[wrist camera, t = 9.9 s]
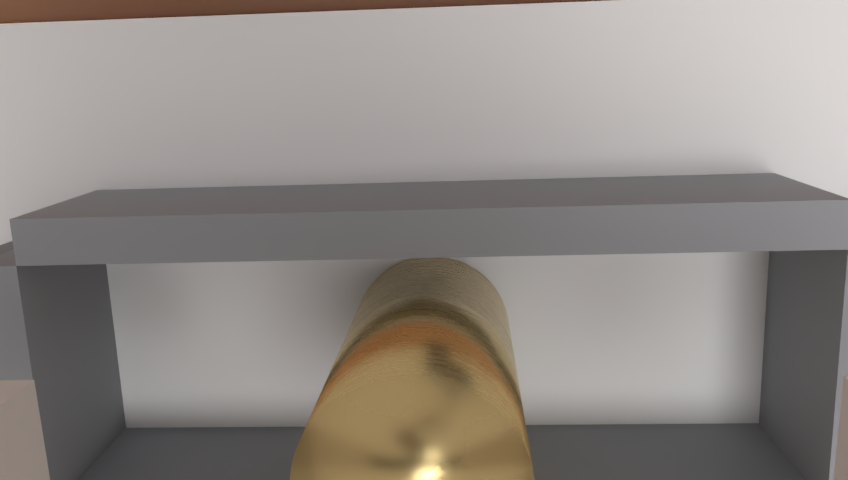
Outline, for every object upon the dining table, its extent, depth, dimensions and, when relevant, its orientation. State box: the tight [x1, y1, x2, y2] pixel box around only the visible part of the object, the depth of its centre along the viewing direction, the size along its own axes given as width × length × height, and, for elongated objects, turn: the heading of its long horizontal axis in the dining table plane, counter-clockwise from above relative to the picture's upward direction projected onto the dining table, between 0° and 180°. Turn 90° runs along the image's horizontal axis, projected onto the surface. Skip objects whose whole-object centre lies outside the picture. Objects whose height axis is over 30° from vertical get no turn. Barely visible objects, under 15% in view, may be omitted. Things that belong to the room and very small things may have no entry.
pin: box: [290, 257, 534, 480], centre depth 17 cm, size 4×4×8 cm
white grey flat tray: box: [0, 0, 848, 480], centre depth 19 cm, size 16×23×5 cm
